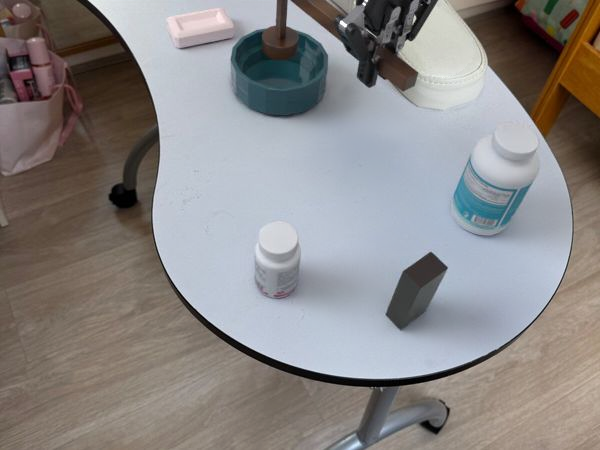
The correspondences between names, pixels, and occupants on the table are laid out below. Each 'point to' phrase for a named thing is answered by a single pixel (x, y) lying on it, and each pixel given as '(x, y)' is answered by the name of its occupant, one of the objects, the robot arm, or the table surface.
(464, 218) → the pill bottle
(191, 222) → the table surface
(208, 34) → the soap bar
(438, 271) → the dark grey rubber eraser
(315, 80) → the bowl
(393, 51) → the robot arm
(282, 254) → the pill bottle
